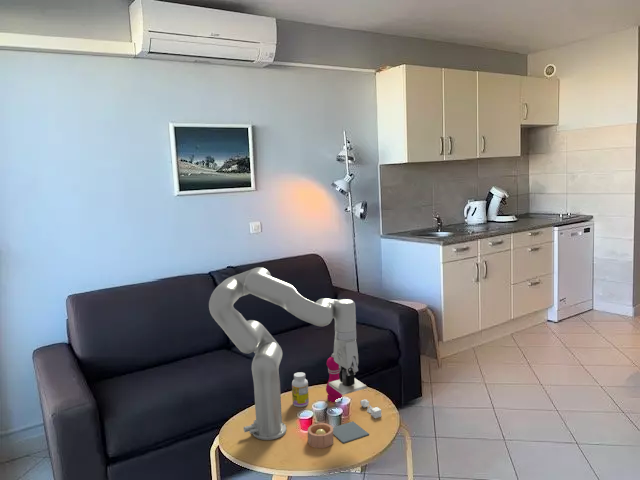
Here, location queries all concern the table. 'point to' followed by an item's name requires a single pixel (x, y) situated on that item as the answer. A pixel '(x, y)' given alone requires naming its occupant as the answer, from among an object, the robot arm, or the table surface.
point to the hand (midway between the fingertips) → (347, 382)
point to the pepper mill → (332, 379)
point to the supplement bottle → (300, 390)
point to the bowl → (320, 435)
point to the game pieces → (371, 409)
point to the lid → (342, 386)
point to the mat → (349, 432)
